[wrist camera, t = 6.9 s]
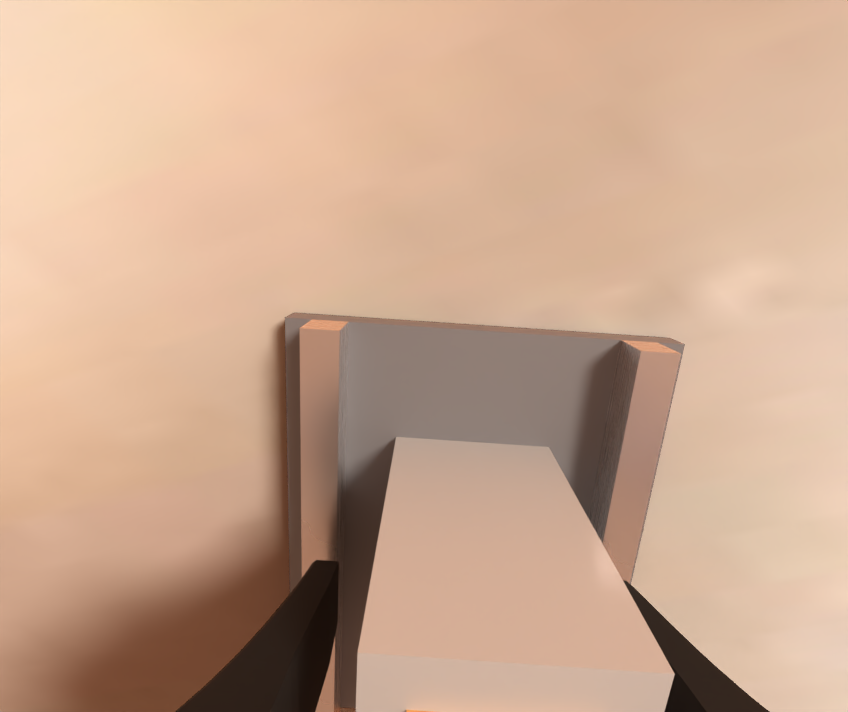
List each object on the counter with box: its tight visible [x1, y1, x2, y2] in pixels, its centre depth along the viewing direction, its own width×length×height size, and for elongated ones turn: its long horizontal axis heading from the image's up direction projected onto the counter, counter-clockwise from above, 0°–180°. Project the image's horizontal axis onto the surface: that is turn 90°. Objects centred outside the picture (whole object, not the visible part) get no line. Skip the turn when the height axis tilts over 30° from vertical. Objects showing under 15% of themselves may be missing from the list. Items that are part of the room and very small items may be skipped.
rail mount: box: [285, 313, 685, 712], centre depth 14 cm, size 11×14×2 cm
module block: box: [356, 437, 675, 712], centre depth 10 cm, size 4×7×7 cm, turn 176°
